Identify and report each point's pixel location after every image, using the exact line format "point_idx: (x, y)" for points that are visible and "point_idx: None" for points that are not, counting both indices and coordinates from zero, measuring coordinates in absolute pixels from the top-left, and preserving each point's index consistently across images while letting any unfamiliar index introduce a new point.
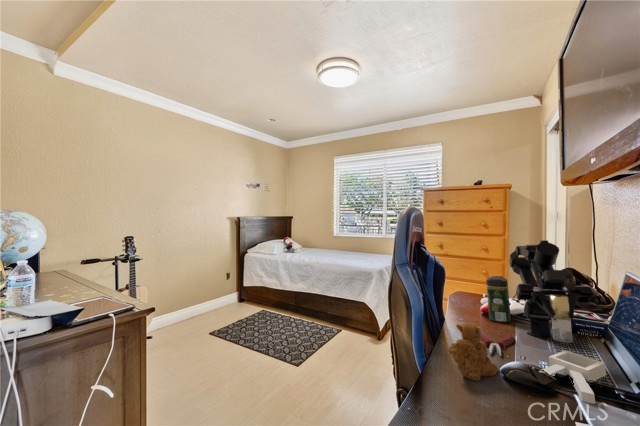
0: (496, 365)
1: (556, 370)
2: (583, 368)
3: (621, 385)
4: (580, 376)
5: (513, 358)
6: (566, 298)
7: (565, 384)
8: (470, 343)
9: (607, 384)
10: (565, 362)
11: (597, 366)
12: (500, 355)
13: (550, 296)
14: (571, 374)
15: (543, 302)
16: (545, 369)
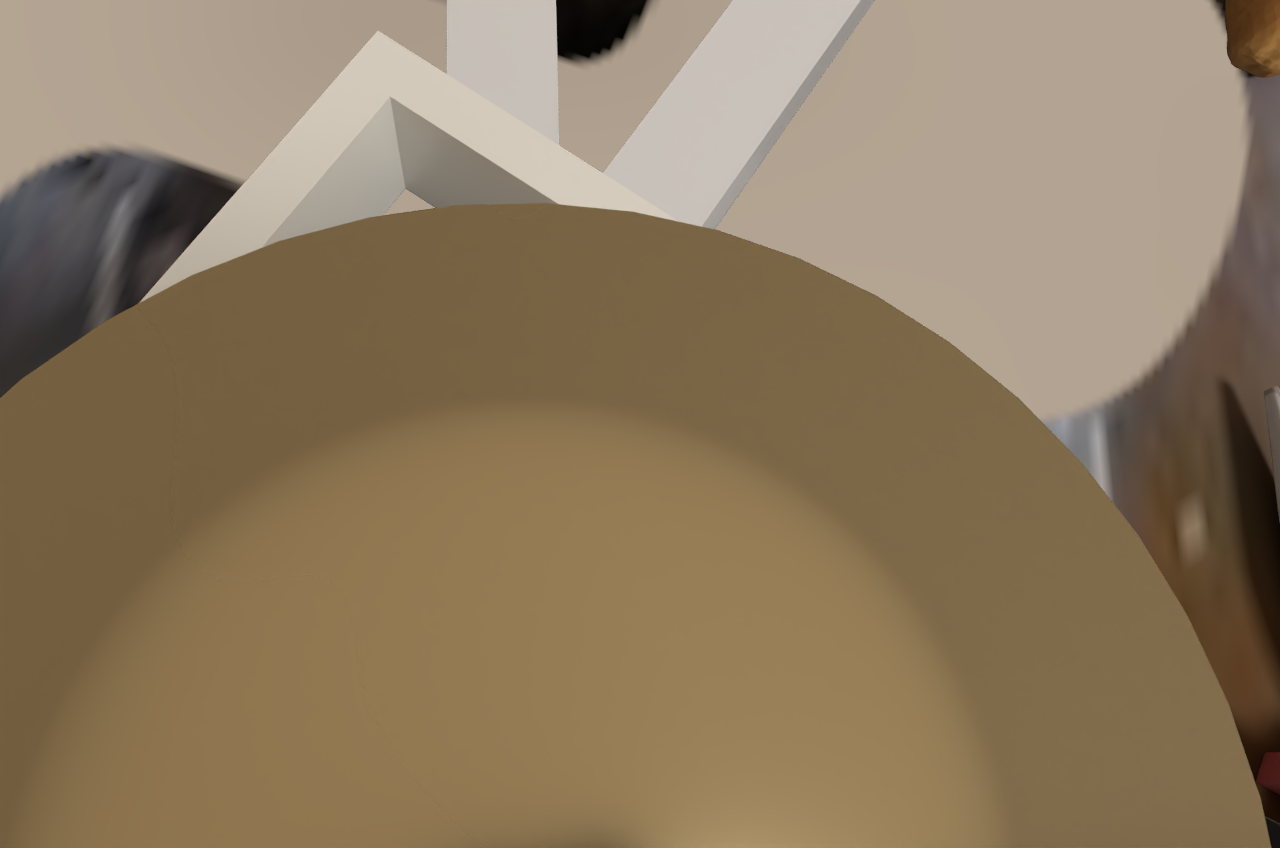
0: (1266, 14)
1: (698, 65)
2: (413, 70)
3: (54, 270)
4: (476, 16)
5: (1120, 483)
6: (54, 411)
7: (622, 40)
8: None
9: (200, 227)
10: (587, 167)
11: (215, 218)
12: (1278, 398)
13: (1158, 608)
14: (556, 46)
15: (1268, 828)
16: (809, 42)
